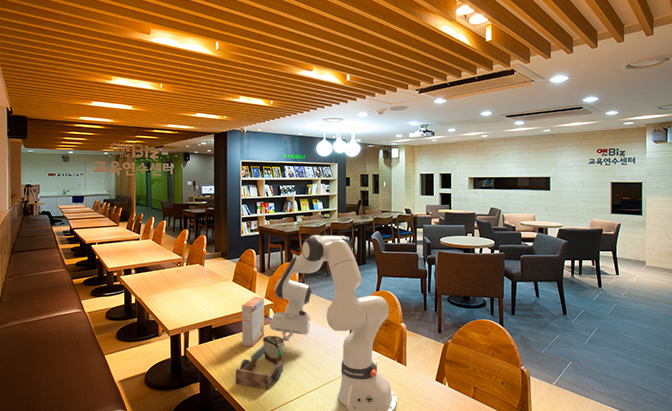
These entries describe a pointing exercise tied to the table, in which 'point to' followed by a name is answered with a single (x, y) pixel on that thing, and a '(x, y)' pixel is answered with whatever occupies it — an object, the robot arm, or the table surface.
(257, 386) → the cart bed
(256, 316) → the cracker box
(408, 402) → the table surface
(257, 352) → the pale teal plank
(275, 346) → the food container
